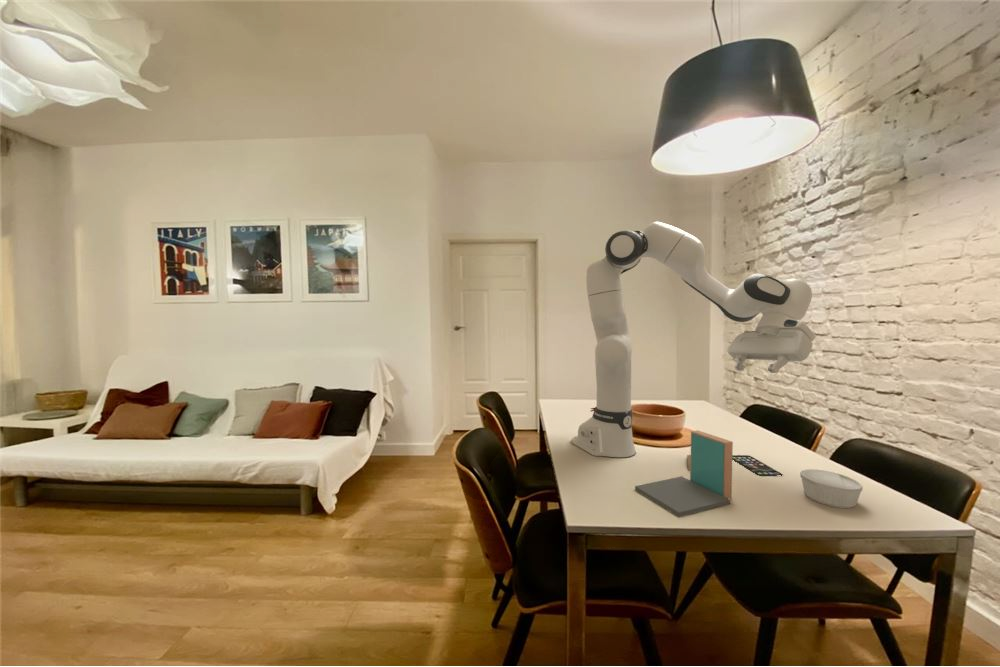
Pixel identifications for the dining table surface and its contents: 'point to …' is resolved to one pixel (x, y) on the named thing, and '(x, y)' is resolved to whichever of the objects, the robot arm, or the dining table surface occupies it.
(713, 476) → the tile
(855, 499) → the ramekin
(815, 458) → the dining table surface
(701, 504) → the mat
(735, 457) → the smartphone
